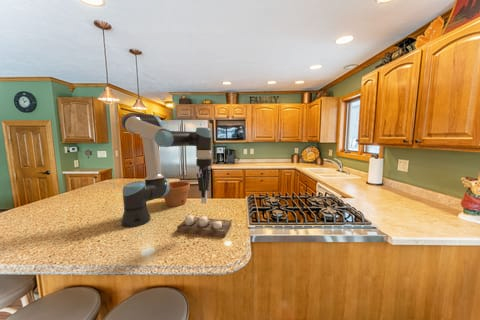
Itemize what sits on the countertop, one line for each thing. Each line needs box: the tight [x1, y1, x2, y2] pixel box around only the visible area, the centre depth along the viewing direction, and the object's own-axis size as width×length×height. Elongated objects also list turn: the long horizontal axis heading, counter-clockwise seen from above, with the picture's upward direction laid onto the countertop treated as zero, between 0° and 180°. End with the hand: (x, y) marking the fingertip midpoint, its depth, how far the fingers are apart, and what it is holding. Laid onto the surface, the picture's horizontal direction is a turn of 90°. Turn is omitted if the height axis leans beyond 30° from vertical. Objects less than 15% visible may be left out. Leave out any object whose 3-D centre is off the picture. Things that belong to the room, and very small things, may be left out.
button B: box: [198, 215, 208, 227], centre depth 100 cm, size 4×4×4 cm
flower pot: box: [163, 181, 191, 207], centre depth 144 cm, size 21×21×15 cm
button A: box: [184, 214, 195, 226], centre depth 102 cm, size 4×4×4 cm
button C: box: [213, 221, 222, 230], centre depth 99 cm, size 4×4×4 cm
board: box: [176, 216, 232, 238], centre depth 103 cm, size 26×13×3 cm, turn 78°
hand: (204, 202), depth 99 cm, fingers closed
